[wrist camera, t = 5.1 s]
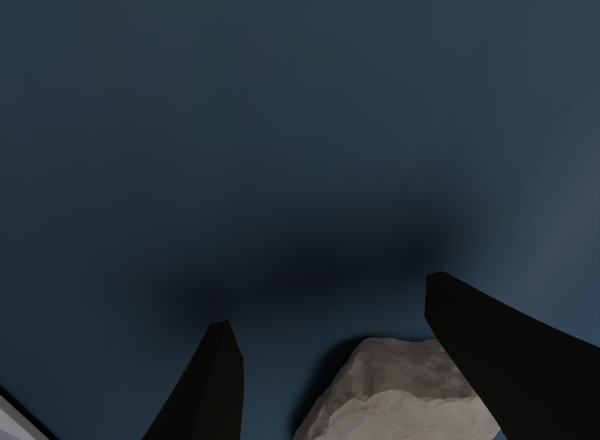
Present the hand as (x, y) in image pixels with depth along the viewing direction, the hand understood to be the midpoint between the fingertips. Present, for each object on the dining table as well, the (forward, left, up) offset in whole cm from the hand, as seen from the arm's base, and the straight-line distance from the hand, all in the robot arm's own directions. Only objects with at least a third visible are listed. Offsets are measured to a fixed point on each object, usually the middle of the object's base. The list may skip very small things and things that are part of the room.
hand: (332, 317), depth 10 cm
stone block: (+2, -10, -2) cm, 10 cm away
